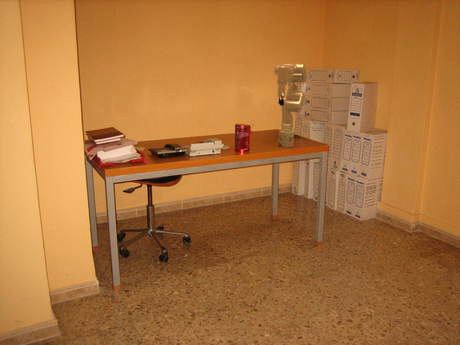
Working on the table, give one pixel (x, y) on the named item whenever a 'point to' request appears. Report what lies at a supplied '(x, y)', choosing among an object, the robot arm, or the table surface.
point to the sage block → (286, 127)
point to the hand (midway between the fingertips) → (281, 104)
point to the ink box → (286, 139)
